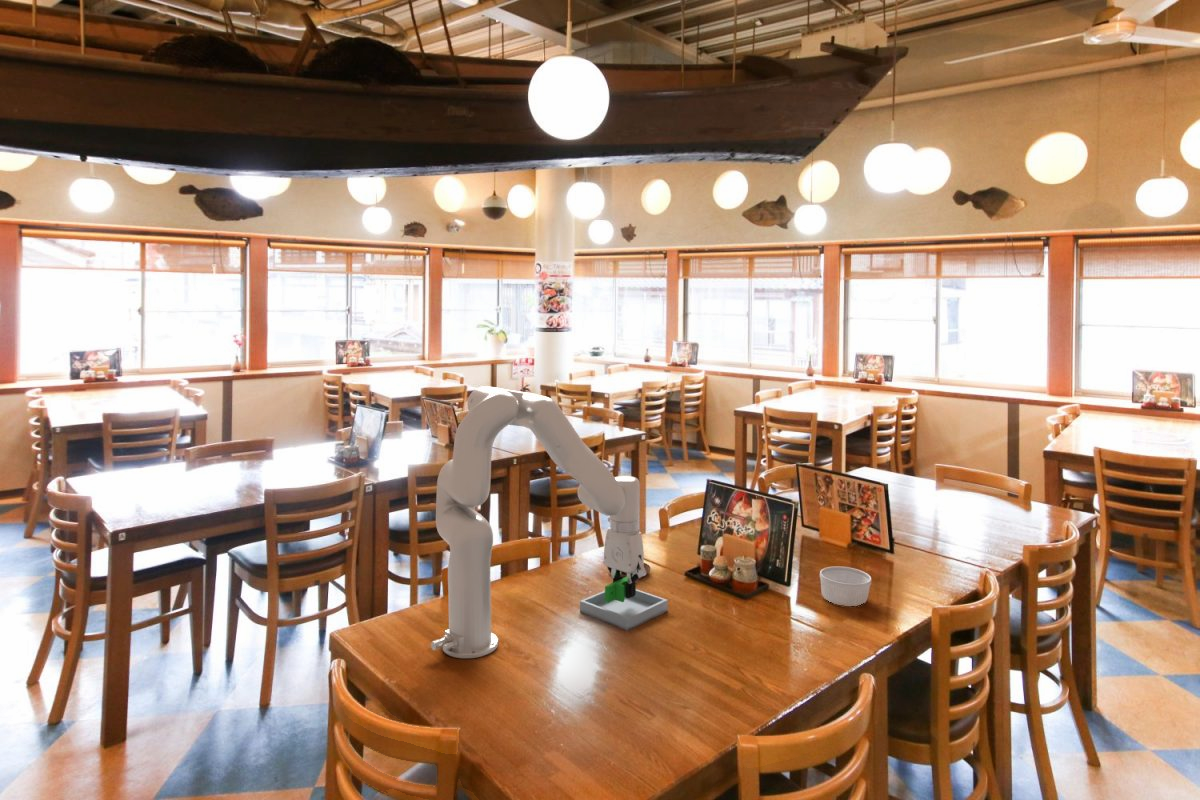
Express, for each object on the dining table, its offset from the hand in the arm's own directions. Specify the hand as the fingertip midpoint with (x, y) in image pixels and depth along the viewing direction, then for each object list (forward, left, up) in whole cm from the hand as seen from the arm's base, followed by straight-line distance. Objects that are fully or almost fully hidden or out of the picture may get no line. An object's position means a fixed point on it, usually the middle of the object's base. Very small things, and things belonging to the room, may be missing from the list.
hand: (624, 593), depth 185 cm
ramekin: (+47, -38, -5) cm, 61 cm away
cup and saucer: (+22, +17, -5) cm, 28 cm away
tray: (0, 0, -5) cm, 5 cm away
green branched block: (0, 0, -1) cm, 1 cm away
